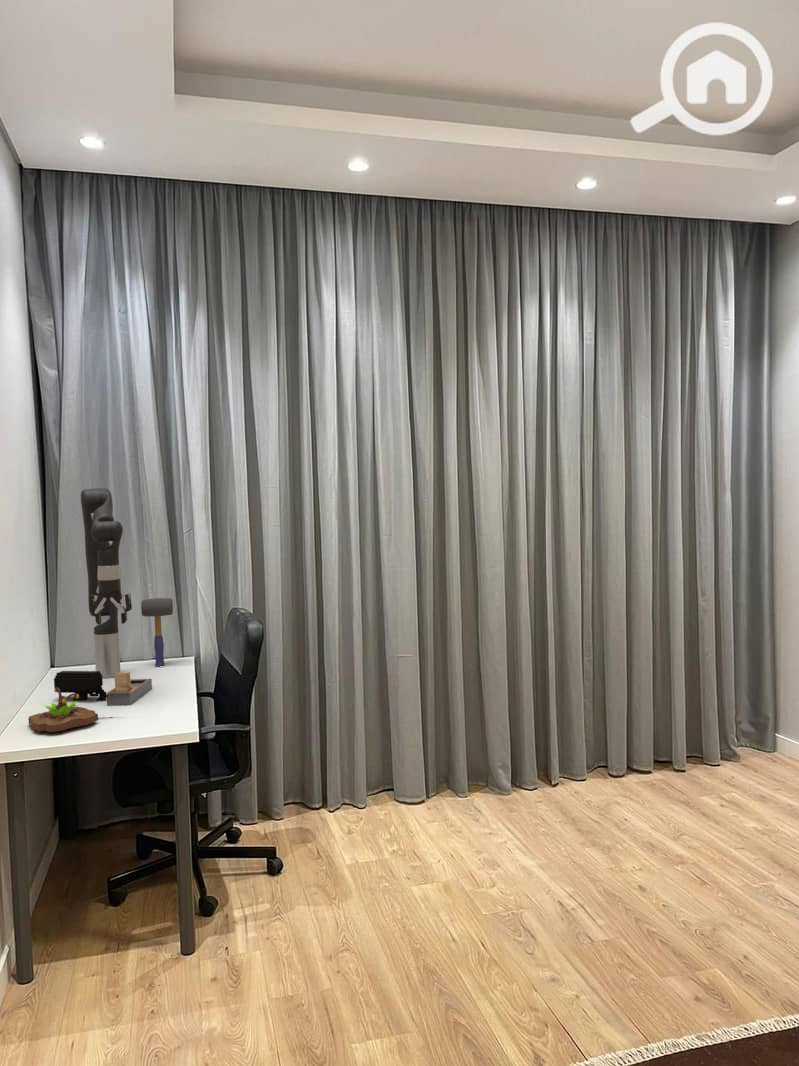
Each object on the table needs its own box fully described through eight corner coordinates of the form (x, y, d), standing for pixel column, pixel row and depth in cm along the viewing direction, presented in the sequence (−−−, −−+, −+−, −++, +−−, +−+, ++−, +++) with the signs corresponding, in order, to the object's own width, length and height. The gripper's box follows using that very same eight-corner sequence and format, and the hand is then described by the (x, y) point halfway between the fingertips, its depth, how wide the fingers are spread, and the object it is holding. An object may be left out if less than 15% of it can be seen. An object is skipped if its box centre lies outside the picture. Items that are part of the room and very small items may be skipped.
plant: (79, 711, 287) (77, 678, 287) (105, 721, 273) (104, 686, 273) (18, 724, 273) (16, 689, 273) (43, 734, 259) (41, 698, 259)
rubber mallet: (176, 667, 358) (173, 596, 356) (175, 671, 350) (171, 598, 349) (145, 670, 355) (142, 598, 354) (143, 673, 348) (140, 600, 347)
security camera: (100, 702, 298) (99, 674, 297) (53, 702, 301) (51, 674, 301) (111, 698, 304) (110, 670, 304) (64, 697, 308) (63, 670, 308)
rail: (130, 690, 317) (130, 678, 317) (152, 689, 317) (151, 677, 316) (107, 705, 293) (106, 693, 293) (130, 705, 293) (129, 692, 292)
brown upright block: (119, 697, 300) (118, 672, 299) (131, 697, 300) (129, 672, 299) (115, 700, 296) (114, 674, 295) (127, 700, 296) (126, 674, 295)
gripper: (132, 576, 304) (134, 621, 305) (92, 577, 304) (95, 622, 305) (125, 578, 296) (128, 625, 297) (84, 579, 297) (87, 626, 298)
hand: (111, 623), depth 301 cm, fingers open, 8 cm apart
